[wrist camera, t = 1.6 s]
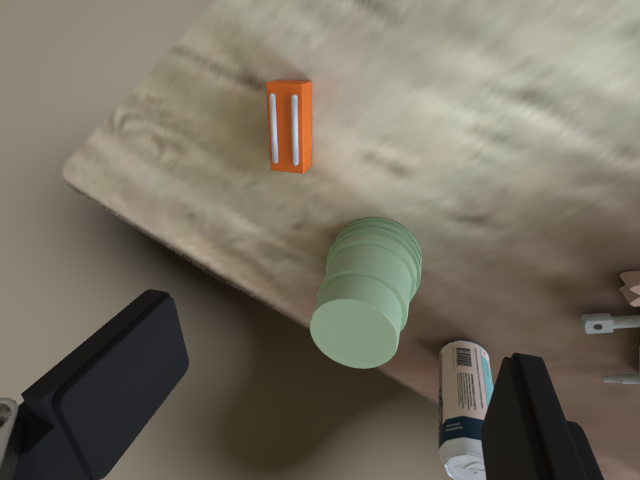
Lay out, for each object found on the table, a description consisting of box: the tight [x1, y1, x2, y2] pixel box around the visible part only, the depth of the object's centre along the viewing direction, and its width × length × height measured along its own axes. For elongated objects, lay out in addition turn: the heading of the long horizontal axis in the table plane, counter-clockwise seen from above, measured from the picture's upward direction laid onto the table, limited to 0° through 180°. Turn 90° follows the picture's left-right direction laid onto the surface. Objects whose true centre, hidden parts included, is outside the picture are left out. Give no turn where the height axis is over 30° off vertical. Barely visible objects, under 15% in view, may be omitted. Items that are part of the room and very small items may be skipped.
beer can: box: [439, 341, 493, 480], centre depth 32 cm, size 5×5×12 cm
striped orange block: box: [266, 80, 312, 173], centre depth 29 cm, size 7×3×3 cm, turn 0°
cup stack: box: [310, 217, 422, 368], centre depth 30 cm, size 9×9×11 cm
